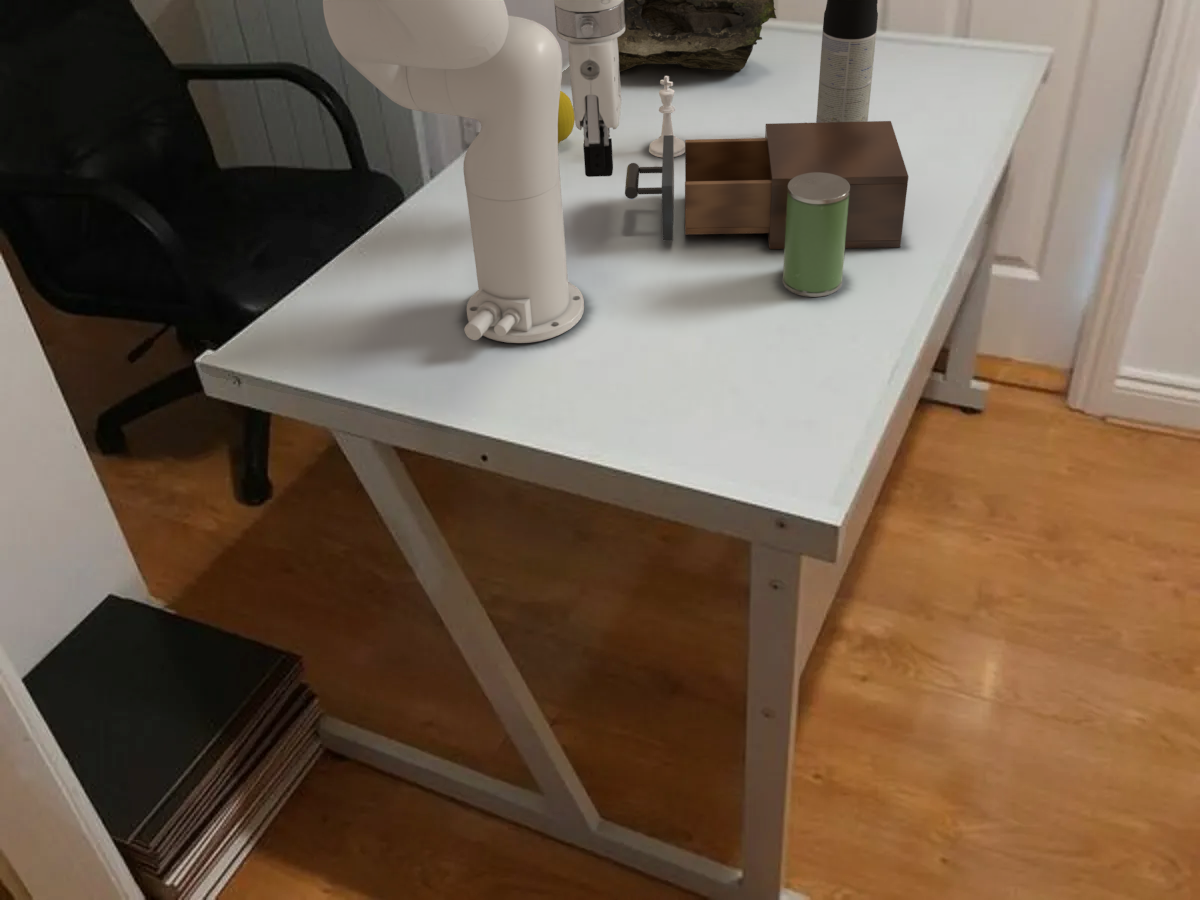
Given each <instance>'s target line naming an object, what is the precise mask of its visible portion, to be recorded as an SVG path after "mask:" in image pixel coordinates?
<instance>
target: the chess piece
mask: <svg viewBox="0 0 1200 900" xmlns="http://www.w3.org/2000/svg"><path fill="white" fill-rule="evenodd" d="M659 84H660V85H663V87H664V88H662V89H660V90H659V91H658V95H659V98H660V101H661V104H662V105H661V106H660V107H658V112H659V113H661V114H663V115H662V125H661V134H660V136H658V138H656V139H654V140H652V141H651V142H650V143H649V148H648V152H649V154H651V155H652V156H655V157H658V158H663V138H664V135H673V136H674V158H677V157H679V156H681V155H683V154H684V153H685V140H683V139H681V138H678V137H677V136H675V135H674V134H675V133H674V128H673V121H672V114H673V113H675V112H676V107H675V106H674V105H672V103H673V99H674V96H675V90H674V89H672V88H670V87H673V86H674V82H673V81H670V76H669V75H664V77H663V79H660V81H659Z"/></svg>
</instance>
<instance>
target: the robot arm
mask: <svg viewBox="0 0 1200 900" xmlns="http://www.w3.org/2000/svg"><path fill="white" fill-rule="evenodd" d="M553 2H554V16H555V28H556V29H555V32H556V35H557V37H558V38H559V39H561V40H563V41H565V42H567V49H568V64H569V77H570V88H571V89H570V90H571V99H572V106H573V109H574V118H575V121H574V126H575V127H576V129H578V130H579V131H582V129H583V144H582V146H583V160H584V161H583V162H584V175H585V176H586V177H588V178H593V177H611V176H613V172H614V171H613V170H614V161H613V160H614V157H613V156H614V155H613V141H612V138H610V137H611V136H610V135H611V130H610V129H612V130H616V129H617V128H618V127H619V126H620V120H621V110H622V89H621V74H620V72H621V71H619V53H618V41H617V37H619V36H621V35H622V34H623V33H624V32H625V9H624V0H553ZM322 10H323V16H324V21H325V22H324V23H325V25H326V28H327V32H328V34H329V37H330V39H331V41H332V43H333V45H334V47H335V48H336V50H337V51H338V52H339V54H340V55H341V57H343V58H344V59H345V60H346V61H347V62H348V63H349V65H351V67H353V68H354V69H356V71H357V72H359V74H360V75H361V76H363V77H364V78H365V79H366V80H367V81H369V82H370V83H371V84H372V85H373V86H374V87H375V88H376V89H377V90H379V91H380V92H381V93H382V94H383V95H384V96H386V98H388V99H389V100H390V101H392V102H393V103H395V104H397V105H398V106H400V107H402V108H405V109H407V110H411V111H416V112H422V113H429V114H436V115H437V114H439V115H447V116H455V117H462V118H466V119H470V120H471V119H472V120H476V121H478V122H479V123H480V130H479V132H478V134H477V135H476V137H475V138H474V139H473V140H472V141H471V143H470V144H469V146H468V148H467V149H466V152H465V154H464V159H463V166H462V167H463V169H462V170H463V178H464V179H463V180H464V185H465V192H466V199H467V200H466V201H467V208H468V209H467V210H468V216H469V222H470V223H469V224H470V231H471V238H472V246H473V247H472V248H473V254H474V264H475V271H476V279H477V287H478V290H476V291H475V292H474V293H473V294H472V295H471V296H470V298H469V299H468V301H467V304H466V317H467V321H468V322H467V323H466V325H464V333H465V335H466V337H467V338H468V339H470V340H472V341H479V340H480V339H481V338H482V337H485V338H487V339H490V340H493V341H497V342H500V343H501V342H502V343H503V342H504V343H508V344H530V343H537V342H543V341H546V340H549V339H552V338H555V337H558V336H560V335H562V334H564V333H566V332H568V331H569V330H571V329H572V328H573V327H574V326H576V325H577V324H578V323H579V322H580V321H581V319H582V318H583V315H584V313H585V301H584V296H583V293H582V292H581V290H580V289H579V288H578V287H577V286H576V285H574V284H572V283H571V282H570V281H569V278H568V265H567V264H568V263H567V251H566V250H567V249H566V237H565V223H564V210H563V195H562V182H561V172H560V158H559V156H560V155H559V144H558V109H559V98H560V91H561V87H562V78H563V53H562V49H561V46H560V44H559V41H558V39H557V38H556V36H555V34H553V32H552V31H551V30H549V28H547V27H546V26H544V25H543V24H541V23H539V22H538V21H537V22H536V21H535V20H532V19H528V18H525V17H521V16H516V15H509V13H508V9H507V5H506V3H505V0H322Z"/></svg>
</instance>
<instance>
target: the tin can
mask: <svg viewBox="0 0 1200 900" xmlns="http://www.w3.org/2000/svg"><path fill="white" fill-rule="evenodd" d="M849 195H850V184H849V183H848V181H847V180H845V179H844V178H842V177H840V176H838V175H834V174H830V173H821V172H814V173H806V174H801V175H798V176H796V177H794V178H792V179H791V180H790V181H789V183H788V189H787V208H786V228H785V247H784V249H783V251H784V252H783V266H782V267H783V268H782V284H783V286H784V287H785V289H786V290H788V291H789V292H791V293H792V294H795V295H798V296H802V297H807V298H820V297H821V298H822V297H826V296H829V295H832V294H835V293H836V292H838V291H839V290H840V289H841V287H842V285H843V276H844V275H843V273H844V264H845V251H846V248H845V241H846V230H847V218H848V207H849Z"/></svg>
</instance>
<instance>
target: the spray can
mask: <svg viewBox="0 0 1200 900" xmlns="http://www.w3.org/2000/svg"><path fill="white" fill-rule="evenodd" d="M878 1H879V0H826V5H825V10H824V12H823V22H822V25H823V26H822V36H821V48H820V49H821V50H820V62H819V63H820V64H819V77H818V91H817V106H816V117H815V119H816V120H815V123H821V122H867V121H869V112H870V103H871V91H872V82H873V81H872V80H873V71H874V61H875V49H876V42H877V31H878V30H877V29H878V20H879V19H878V17H879V13H878Z"/></svg>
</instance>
